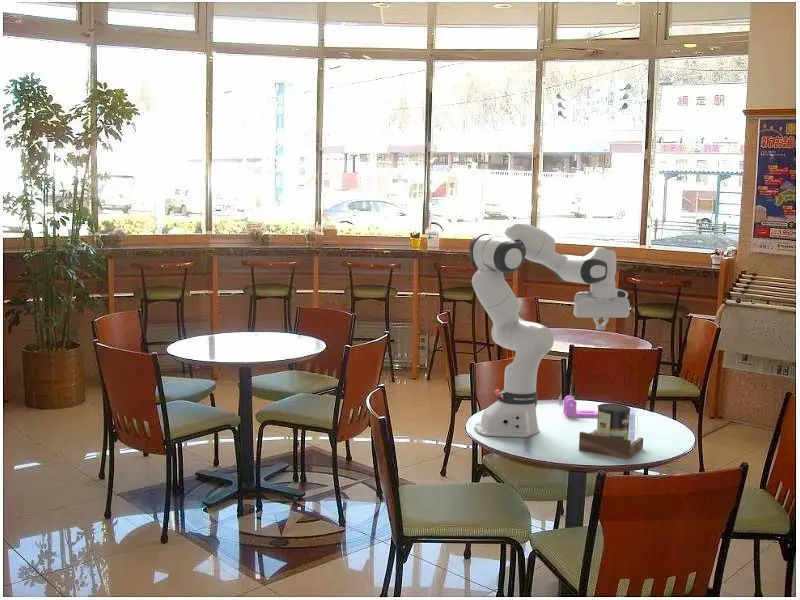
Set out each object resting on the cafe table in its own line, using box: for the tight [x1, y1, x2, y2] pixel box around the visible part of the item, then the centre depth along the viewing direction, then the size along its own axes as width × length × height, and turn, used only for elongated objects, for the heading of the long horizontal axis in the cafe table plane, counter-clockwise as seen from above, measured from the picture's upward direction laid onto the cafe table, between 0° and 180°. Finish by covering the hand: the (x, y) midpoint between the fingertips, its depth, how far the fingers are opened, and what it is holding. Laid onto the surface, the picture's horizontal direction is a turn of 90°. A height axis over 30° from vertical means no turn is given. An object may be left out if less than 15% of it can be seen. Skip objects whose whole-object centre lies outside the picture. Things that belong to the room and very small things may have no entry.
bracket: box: [562, 395, 598, 418], centre depth 313 cm, size 13×6×7 cm, turn 89°
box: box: [578, 429, 644, 461], centre depth 272 cm, size 15×16×6 cm
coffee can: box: [596, 403, 631, 440], centre depth 272 cm, size 10×10×14 cm
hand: (600, 329), depth 302 cm, fingers closed
